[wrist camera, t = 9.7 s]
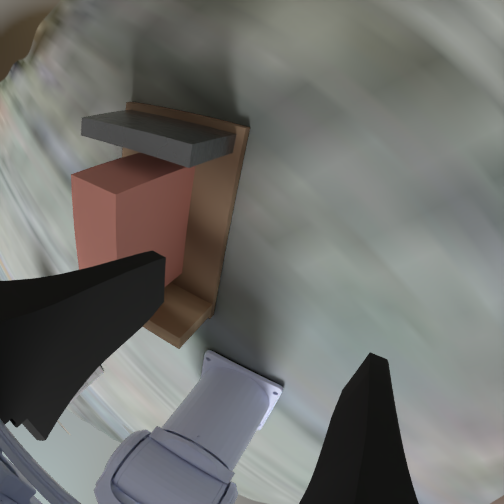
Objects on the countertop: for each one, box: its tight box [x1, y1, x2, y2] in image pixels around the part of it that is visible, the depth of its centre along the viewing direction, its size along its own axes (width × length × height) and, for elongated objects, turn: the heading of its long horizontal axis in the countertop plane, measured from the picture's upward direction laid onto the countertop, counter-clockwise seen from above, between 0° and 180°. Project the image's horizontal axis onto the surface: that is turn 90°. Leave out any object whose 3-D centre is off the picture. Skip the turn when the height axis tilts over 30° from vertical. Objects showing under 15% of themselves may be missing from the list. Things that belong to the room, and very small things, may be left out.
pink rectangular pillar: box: [71, 153, 195, 287], centre depth 20 cm, size 9×4×7 cm, turn 167°
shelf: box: [122, 102, 250, 349], centre depth 21 cm, size 15×10×5 cm, turn 168°
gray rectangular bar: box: [81, 110, 237, 168], centre depth 17 cm, size 1×9×4 cm, turn 78°
